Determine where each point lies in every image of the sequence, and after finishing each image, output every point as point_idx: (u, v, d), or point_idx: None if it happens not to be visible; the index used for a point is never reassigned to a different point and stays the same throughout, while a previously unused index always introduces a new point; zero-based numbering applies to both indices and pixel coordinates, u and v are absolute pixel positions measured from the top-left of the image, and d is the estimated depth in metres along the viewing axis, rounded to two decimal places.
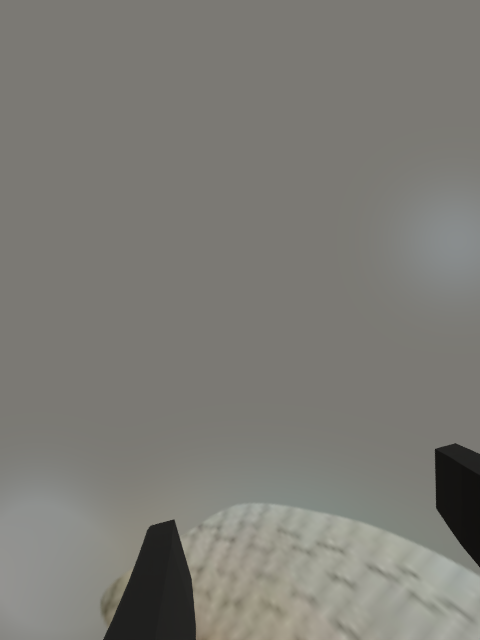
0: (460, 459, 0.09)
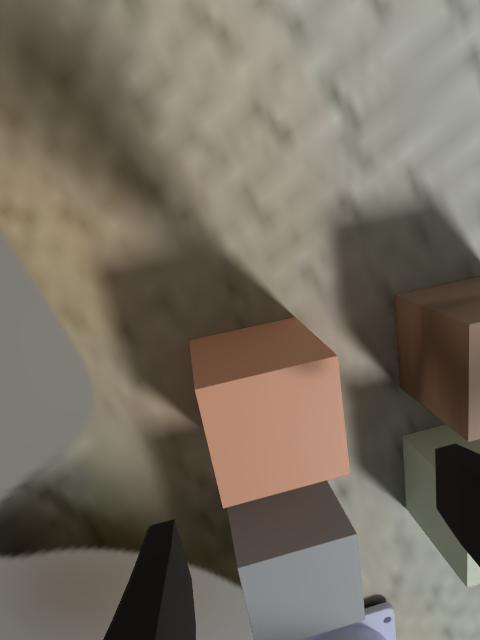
0: (460, 459, 0.09)
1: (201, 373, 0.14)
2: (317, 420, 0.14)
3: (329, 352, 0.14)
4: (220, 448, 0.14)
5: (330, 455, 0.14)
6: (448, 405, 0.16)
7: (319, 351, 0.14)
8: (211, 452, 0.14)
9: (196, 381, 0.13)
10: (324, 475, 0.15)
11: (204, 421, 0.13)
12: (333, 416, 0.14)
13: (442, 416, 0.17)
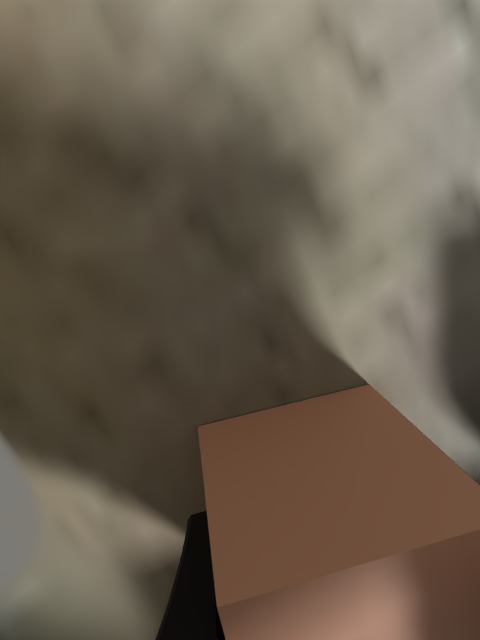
0: None
1: (227, 538, 0.07)
2: (460, 632, 0.07)
3: None
4: None
5: None
6: None
7: (464, 495, 0.07)
8: None
9: (219, 570, 0.06)
10: None
11: None
12: None
13: None
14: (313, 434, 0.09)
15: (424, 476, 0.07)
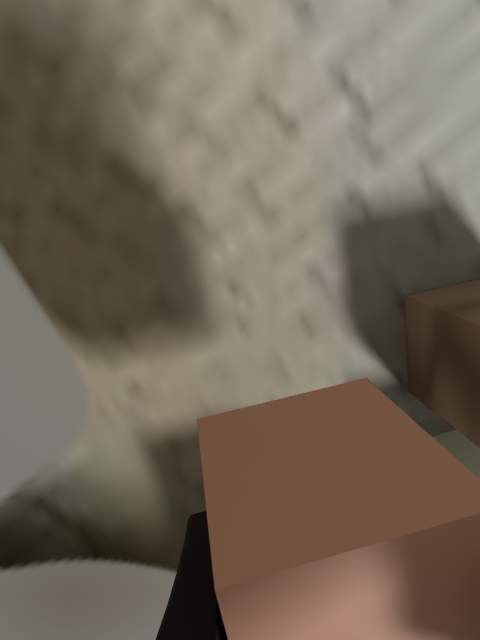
0: None
1: (225, 525, 0.07)
2: (454, 618, 0.07)
3: None
4: None
5: None
6: (461, 412, 0.15)
7: (458, 483, 0.07)
8: None
9: (216, 555, 0.06)
10: None
11: None
12: None
13: (455, 423, 0.16)
14: (310, 426, 0.09)
15: (419, 465, 0.08)
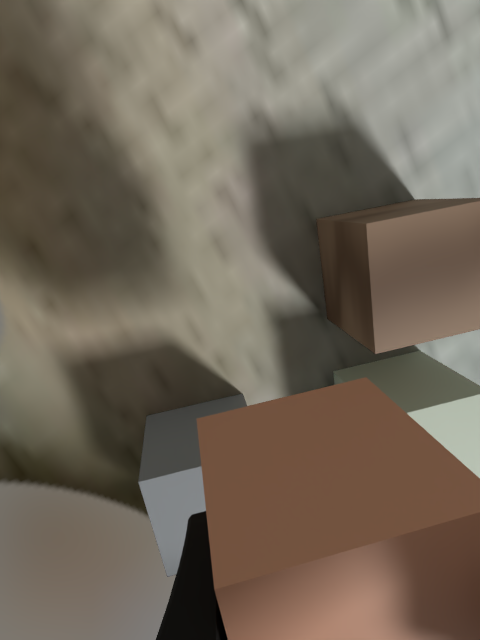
0: None
1: (225, 524, 0.07)
2: (454, 617, 0.07)
3: None
4: None
5: None
6: (359, 321, 0.16)
7: (458, 482, 0.07)
8: None
9: (216, 554, 0.06)
10: None
11: None
12: None
13: (356, 335, 0.16)
14: (310, 425, 0.09)
15: (419, 464, 0.08)
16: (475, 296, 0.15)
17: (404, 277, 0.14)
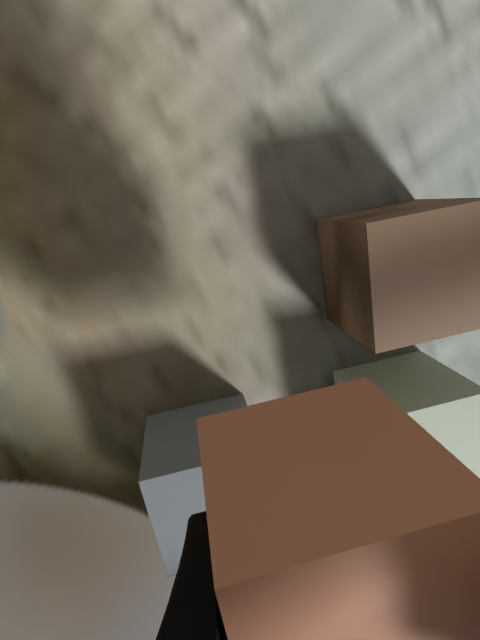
0: None
1: (225, 524, 0.07)
2: (454, 617, 0.07)
3: None
4: None
5: None
6: (359, 321, 0.16)
7: (458, 482, 0.07)
8: None
9: (216, 554, 0.06)
10: None
11: None
12: None
13: (357, 335, 0.16)
14: (310, 425, 0.09)
15: (419, 464, 0.08)
16: (475, 296, 0.15)
17: (404, 276, 0.14)
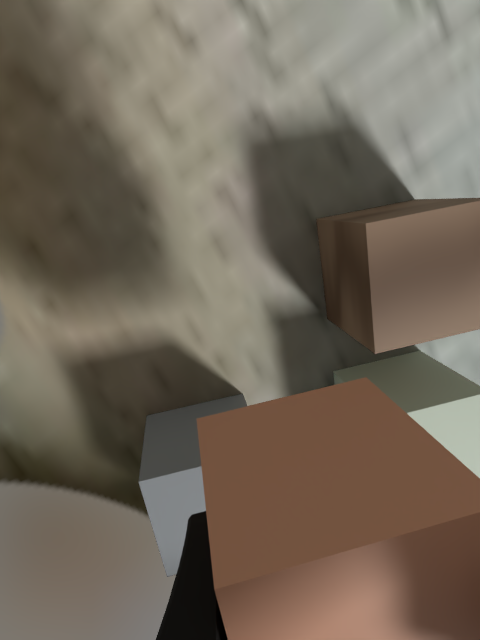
0: None
1: (225, 524, 0.07)
2: (454, 617, 0.07)
3: None
4: None
5: None
6: (359, 321, 0.16)
7: (458, 482, 0.07)
8: None
9: (216, 554, 0.06)
10: None
11: None
12: None
13: (356, 335, 0.16)
14: (310, 425, 0.09)
15: (419, 464, 0.08)
16: (475, 296, 0.15)
17: (404, 277, 0.14)
